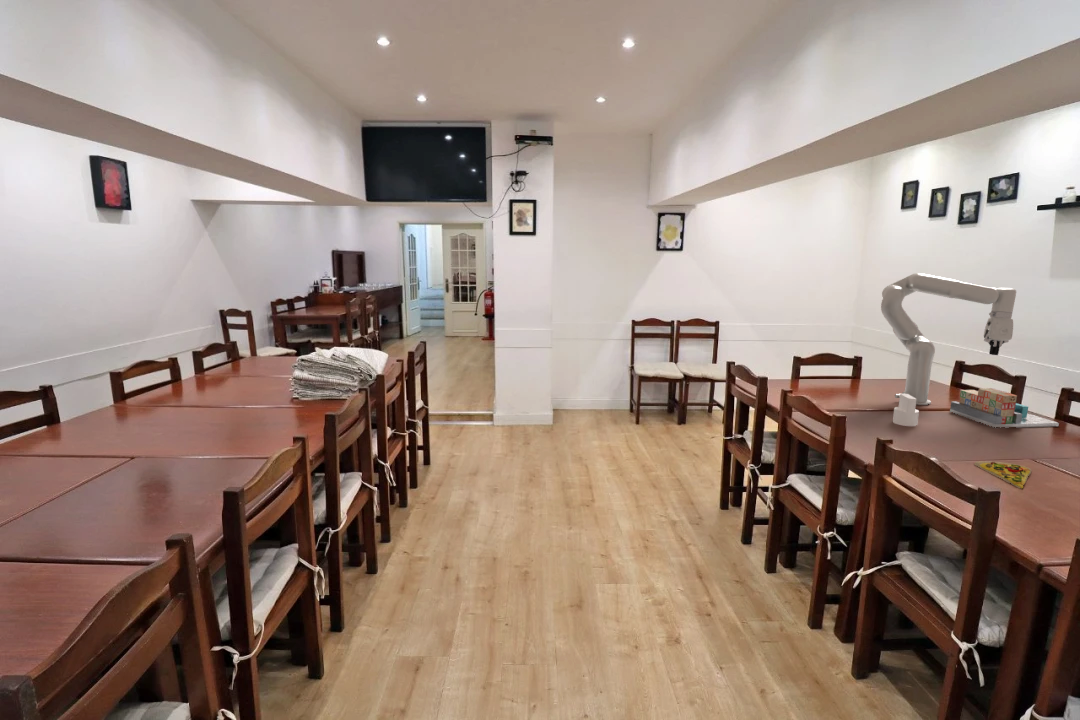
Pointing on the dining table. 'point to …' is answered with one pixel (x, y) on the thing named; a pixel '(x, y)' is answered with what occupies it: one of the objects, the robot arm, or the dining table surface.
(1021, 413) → the sliding jaw
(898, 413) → the base with upright slab
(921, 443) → the dining table surface
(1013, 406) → the stack of blocks
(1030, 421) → the base
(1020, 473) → the pizza slice
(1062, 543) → the dining table surface
